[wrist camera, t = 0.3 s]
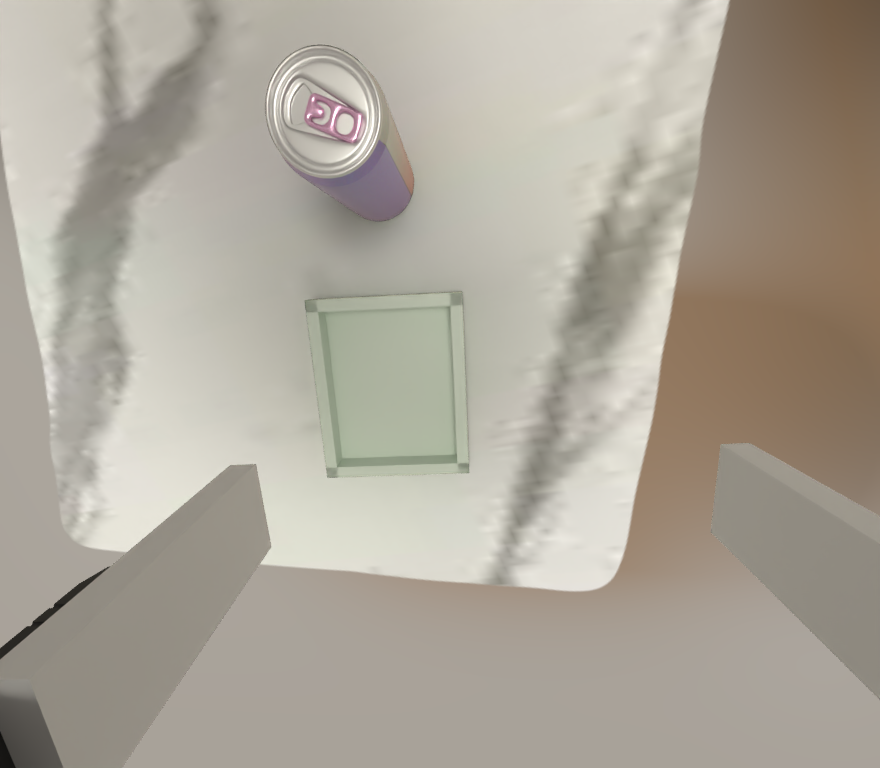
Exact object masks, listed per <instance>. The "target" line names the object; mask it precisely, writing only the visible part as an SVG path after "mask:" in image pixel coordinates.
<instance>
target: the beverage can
mask: <svg viewBox="0 0 880 768" xmlns="http://www.w3.org/2000/svg"><path fill="white" fill-rule="evenodd" d="M265 114H266V121H267V126H268V129H269V132H270V135H271V137H272V140H273V142H274V144H275V145H276V147H277V149H278V150H279V152H280V153H281V155H282V157H283V158H284V159H285V161H286V162H287V163H288V165H289V166H290V167H291V168H292V169H293V170H294V171H295V172H296V173H298V174H299V175H300V176H302V177H303V178H305V179H306V180H308V181H309V182H310V183H312V184H313V185H315V186H316V187H318V188H319V189H321V190H322V191H324V192H325V193H327V194H328V195H330V196H331V197H333V198H334V199H336V200H337V201H338V202H340V203H341V204H343V205H344V206H346V207H347V208H349V209H350V210H352V211H353V212H355V213H356V214H358V215H359V216H361V217H363V218H365V219H367V220H371V221H385V220H389V219H391V218H393V217H395V216H397V215H398V214H400V213H401V212H402V211H403V210H404V209H405V207H406V206H407V204H408V203H409V201H410V199H411V196H412V193H413V187H414V177H413V172H412V168H411V165H410V163H409V160H408V157H407V155H406V152H405V149H404V147H403V144H402V141H401V139H400V136H399V134H398V131H397V128H396V126H395V123H394V120H393V118H392V115H391V112H390V110H389V107H388V104H387V102H386V99H385V96H384V94H383V91H382V89H381V87H380V86H379V84H378V82H377V81H376V79H375V78H374V77H373V75H372V74H371V73H370V72H369V71H368V70H367V69H366V68H365V67H364V66H363V64H362V63H361V62H360V61H358V60H357V59H356V58H355V57H354V56H352V55H351V54H349V53H348V52H346V51H344V50H342V49H339V48H337V47H333V46H329V45H312V46H307V47H304V48H301V49H299V50H297V51H295V52H293V53H292V54H290V55H289V56H288V57H286V58H285V59H284V60H283V61H282V62H281V63H280V65H279V66H278V67H277V69H276V70H275V72H274V74H273V76H272V78H271V80H270V83H269V85H268V89H267V93H266V101H265Z"/></svg>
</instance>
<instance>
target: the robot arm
mask: <svg viewBox="0 0 880 768" xmlns="http://www.w3.org/2000/svg"><path fill="white" fill-rule="evenodd" d="M711 533H712V534H713V535H714V536H715V537H716V538H717V539H718V540H719V541H720V542H721V543H722V544H723V545H724V546H725V547H727V549H728V550H729V551H730V552H731V553H732V554H733V555H734V556H735V557H736V558H737V559H738V560H739V561H740V562H741V563H742V564H743V565H744V566H746V568H747V569H748V570H749V571H750V572H752V574H753V575H755V576H756V577H757V578H758V579H759V580H760V581H761V582H762V583H763V584H764V585H765V586H766V587H767V588H768V589H769V590H770V591H771V592H772V593H773V594H774V595H775V596H776V597H777V598H778V599H779V600H780V601H781V602H782V603H783V604H784V605H785V606H786V607H787V608H788V609H789V610H790V611H791V612H792V613H793V614H794V615H795V616H796V617H797V618H798V619H799V620H800V621H801V622H802V623H803V624H804V625H805V626H806V627H807V628H808V629H809V630H810V631H811V632H812V633H813V634H814V635H815V636H816V637H817V638H818V639H819V640H820V641H821V642H822V643H823V644H824V645H825V646H826V647H827V648H828V649H829V650H830V651H831V652H832V653H833V654H834V655H835V656H836V657H838V659H839V660H840V661H841V662H842V663H844V665H845V666H846V667H847V668H848V669H849V670H850V671H851V672H852V673H853V674H854V675H855V676H856V677H857V678H858V679H859V680H860V681H861V682H862V683H863V684H864V685H865V686H866V687H868V689H869V690H870V691H872V692H873V693H874V694H875V695H876V696H877V697H878V698H879V699H880V516H878V515H877V514H875V513H873V512H871V511H870V510H868V509H866V508H864V507H862V506H861V505H859V504H857V503H855V502H853V501H852V500H850V499H848V498H846V497H845V496H843V495H841V494H839V493H837V492H836V491H834V490H832V489H830V488H828V487H826V486H825V485H823V484H821V483H820V482H818V481H816V480H814V479H813V478H811V477H809V476H807V475H805V474H804V473H802V472H800V471H798V470H797V469H795V468H793V467H791V466H789V465H788V464H786V463H784V462H782V461H780V460H778V459H777V458H775V457H773V456H772V455H770V454H768V453H766V452H764V451H763V450H761V449H759V448H757V447H756V446H754V445H752V444H750V443H741V444H721V448H720V456H719V465H718V474H717V482H716V491H715V499H714V508H713V516H712V525H711ZM270 548H271V543H270V537H269V532H268V526H267V521H266V516H265V510H264V505H263V500H262V494H261V489H260V483H259V478H258V473H257V467H256V464H249V465H230V466H229V467H228V468H226V469H225V470H224V471H223V472H222V473H220V474H219V475H218V476H217V477H216V478H215V479H213V480H212V481H211V482H210V483H209V484H207V485H206V486H205V487H204V488H203V489H202V490H200V491H199V492H198V493H197V494H196V495H194V496H193V497H192V498H191V499H190V500H189V501H187V502H186V503H185V504H184V505H183V506H181V507H180V508H179V509H178V510H177V511H175V512H174V513H173V514H172V515H171V516H170V517H168V518H167V519H166V520H165V521H164V522H162V523H161V524H160V525H159V526H158V527H157V528H155V529H154V530H153V531H152V532H151V533H149V534H148V535H147V536H146V537H145V538H144V539H142V540H141V541H140V542H139V543H138V544H136V545H135V546H134V547H133V548H132V549H130V550H129V551H128V552H127V553H126V554H125V555H123V556H122V557H121V558H120V559H119V560H118V561H116V562H115V563H114V564H113V565H112V566H110V567H107V568H106V569H104V570H102V571H100V572H99V573H97V574H95V575H93V576H92V577H90V578H88V579H87V580H85V581H83V582H81V583H80V584H78V585H77V586H76V587H74V589H72V590H71V591H70V592H68V593H67V594H66V595H65V596H63V597H62V598H61V599H60V600H59V601H57V602H56V603H55V604H54V607H53V608H51V609H50V608H49V609H48V610H46V611H45V612H44V613H43V614H42V615H41V616H39V617H38V618H37V619H36V620H34V621H33V624H32V625H31V626H27V627H26V628H24V629H23V630H22V631H21V632H20V633H18V634H17V635H16V636H15V637H14V638H12V639H11V640H10V641H9V642H8V643H6V644H5V645H4V646H3V647H1V648H0V768H122V767H123V766H124V764H125V763H126V761H127V760H128V758H129V757H130V755H131V754H132V752H133V751H134V749H135V748H136V746H137V745H138V743H139V742H140V740H141V739H142V738H143V736H144V734H145V733H146V732H147V730H148V729H149V727H150V726H151V724H152V723H153V721H154V720H155V718H156V717H157V715H158V714H159V712H160V711H161V709H162V708H163V706H164V705H165V704H166V702H167V701H168V699H169V698H170V696H171V694H172V693H173V692H174V690H175V688H176V687H177V686H178V684H179V683H180V681H181V680H182V678H183V677H184V675H185V674H186V672H187V671H188V669H189V668H190V666H191V665H192V663H193V662H194V661H195V659H196V658H197V656H198V655H199V653H200V652H201V650H202V649H203V647H204V646H205V644H206V643H207V641H208V640H209V638H210V637H211V635H212V634H213V632H214V631H215V629H216V628H217V626H218V625H219V623H220V622H221V620H222V619H223V618H224V616H225V615H226V613H227V612H228V610H229V609H230V607H231V605H232V604H233V603H234V601H235V600H236V598H237V597H238V595H239V594H240V592H241V591H242V589H243V588H244V586H245V585H246V583H247V582H248V580H249V579H250V577H251V576H252V575H253V573H254V571H255V570H256V569H257V567H258V566H259V564H260V563H261V561H262V560H263V558H264V557H265V555H266V554H267V552H268V551H269V549H270Z"/></svg>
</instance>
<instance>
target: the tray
mask: <svg viewBox="0 0 880 768" xmlns="http://www.w3.org/2000/svg"><path fill="white" fill-rule="evenodd" d="M305 308H306V316H307V323H308V331H309V339H310V347H311V354H312V362H313V370H314V378H315V385H316V393H317V401H318V409H319V417H320V424H321V432H322V440H323V448H324V455H325V463H326V471H327V478H335V477H365V476H395V475H426V474H456V473H469V459H468V432H467V406H466V379H465V352H464V326H463V299H462V292H442V293H423V294H404V295H384V296H365V297H346V298H327V299H312V300H305Z"/></svg>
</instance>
